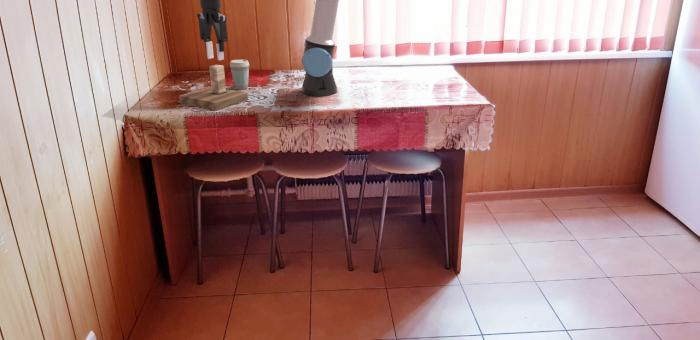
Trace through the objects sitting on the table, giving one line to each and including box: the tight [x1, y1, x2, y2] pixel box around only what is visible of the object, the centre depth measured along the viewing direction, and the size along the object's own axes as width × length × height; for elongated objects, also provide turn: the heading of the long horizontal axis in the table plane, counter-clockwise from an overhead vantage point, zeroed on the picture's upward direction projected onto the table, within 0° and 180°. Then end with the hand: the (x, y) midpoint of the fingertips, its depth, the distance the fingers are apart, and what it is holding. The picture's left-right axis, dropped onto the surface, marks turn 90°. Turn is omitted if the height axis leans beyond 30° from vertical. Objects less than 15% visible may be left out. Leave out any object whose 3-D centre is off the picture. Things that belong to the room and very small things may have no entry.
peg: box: [208, 64, 227, 95], centre depth 208 cm, size 4×4×14 cm
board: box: [178, 86, 249, 112], centre depth 208 cm, size 20×18×3 cm
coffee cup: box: [229, 59, 250, 91], centre depth 227 cm, size 8×8×12 cm
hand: (215, 58), depth 204 cm, fingers open, 5 cm apart
